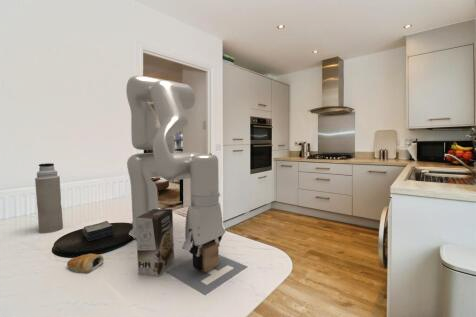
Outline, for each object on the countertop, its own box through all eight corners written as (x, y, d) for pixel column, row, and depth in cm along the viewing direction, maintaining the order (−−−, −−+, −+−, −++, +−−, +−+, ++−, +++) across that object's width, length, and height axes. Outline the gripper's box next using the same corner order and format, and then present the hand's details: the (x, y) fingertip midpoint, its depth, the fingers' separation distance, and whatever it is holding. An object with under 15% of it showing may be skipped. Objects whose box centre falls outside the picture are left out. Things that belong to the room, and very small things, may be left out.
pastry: (60, 272, 67) (59, 259, 67) (79, 260, 74) (79, 248, 73) (89, 274, 65) (88, 261, 65) (106, 262, 72) (106, 250, 72)
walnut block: (192, 265, 66) (192, 244, 65) (206, 258, 70) (206, 238, 69) (205, 272, 63) (204, 250, 62) (218, 264, 66) (218, 243, 66)
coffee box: (159, 279, 62) (156, 218, 61) (137, 276, 64) (134, 217, 62) (175, 261, 71) (173, 208, 70) (155, 260, 72) (153, 207, 71)
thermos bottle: (58, 225, 106) (53, 162, 104) (66, 228, 102) (62, 163, 100) (35, 231, 99) (30, 164, 97) (43, 234, 95) (38, 164, 93)
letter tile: (165, 273, 65) (165, 271, 65) (209, 252, 77) (208, 250, 77) (205, 297, 54) (205, 295, 54) (248, 268, 67) (248, 266, 67)
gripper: (217, 192, 73) (218, 249, 75) (169, 204, 60) (171, 272, 62) (235, 196, 69) (236, 257, 70) (188, 209, 56) (189, 284, 57)
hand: (205, 263), depth 66 cm, fingers closed on walnut block, 5 cm apart
